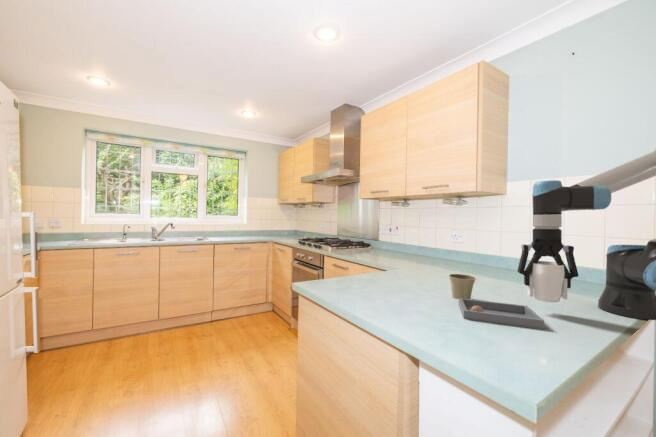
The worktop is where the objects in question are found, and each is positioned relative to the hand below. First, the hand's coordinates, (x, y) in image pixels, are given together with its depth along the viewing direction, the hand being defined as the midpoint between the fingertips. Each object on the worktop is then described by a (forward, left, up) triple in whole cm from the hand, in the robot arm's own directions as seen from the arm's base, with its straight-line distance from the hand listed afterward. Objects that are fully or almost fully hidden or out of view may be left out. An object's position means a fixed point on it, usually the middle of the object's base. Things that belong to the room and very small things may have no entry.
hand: (546, 296), depth 92 cm
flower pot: (+25, -6, -6) cm, 26 cm away
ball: (+23, +16, -5) cm, 28 cm away
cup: (0, 0, -1) cm, 1 cm away
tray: (+17, +12, -6) cm, 21 cm away
